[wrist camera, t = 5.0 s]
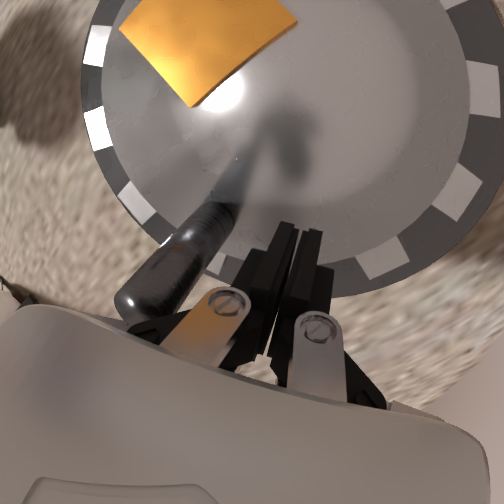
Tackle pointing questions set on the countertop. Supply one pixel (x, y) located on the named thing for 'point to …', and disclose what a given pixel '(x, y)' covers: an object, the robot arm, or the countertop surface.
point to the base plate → (429, 222)
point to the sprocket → (283, 128)
